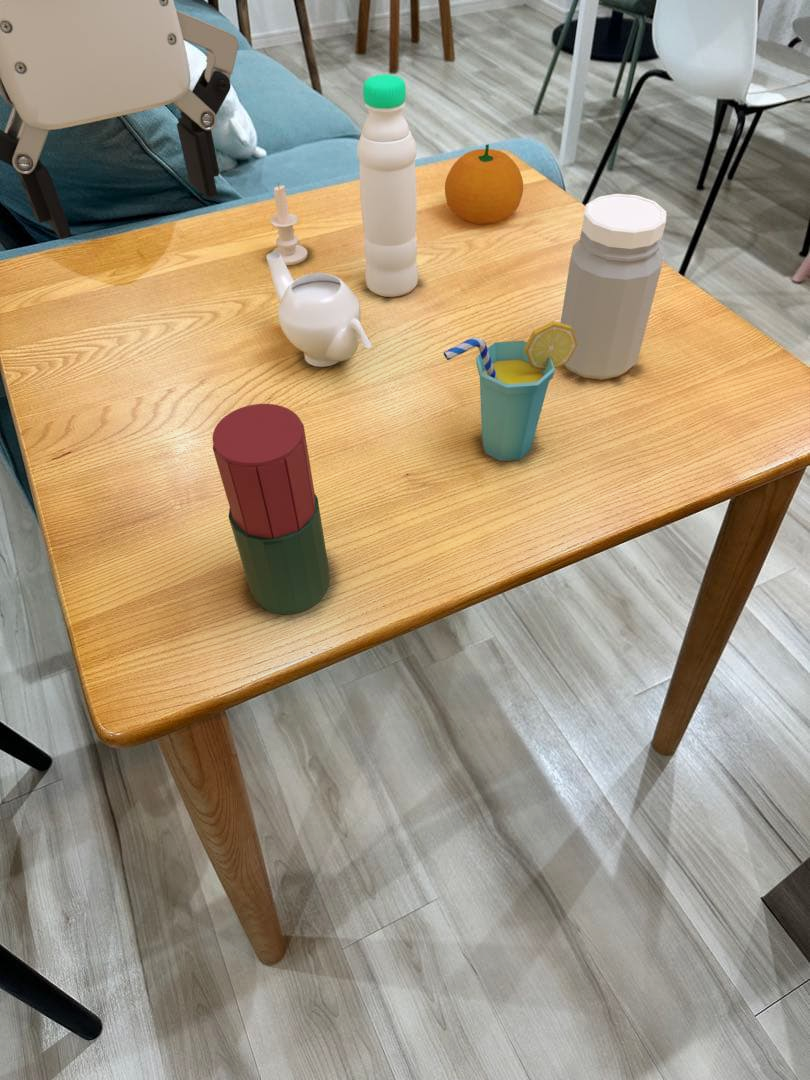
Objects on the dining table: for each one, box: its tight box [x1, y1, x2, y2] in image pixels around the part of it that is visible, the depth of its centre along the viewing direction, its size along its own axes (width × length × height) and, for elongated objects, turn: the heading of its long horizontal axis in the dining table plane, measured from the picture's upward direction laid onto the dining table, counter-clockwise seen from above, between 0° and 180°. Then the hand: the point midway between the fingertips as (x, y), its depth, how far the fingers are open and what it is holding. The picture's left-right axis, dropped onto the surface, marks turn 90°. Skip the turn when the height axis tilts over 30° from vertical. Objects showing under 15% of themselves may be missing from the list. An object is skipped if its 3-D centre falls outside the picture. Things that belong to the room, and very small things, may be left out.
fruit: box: [444, 144, 524, 225], centre depth 110 cm, size 12×12×10 cm
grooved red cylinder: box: [212, 403, 316, 539], centre depth 57 cm, size 7×7×8 cm
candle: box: [269, 183, 309, 266], centre depth 103 cm, size 5×5×10 cm
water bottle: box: [356, 73, 419, 298], centre depth 92 cm, size 7×7×25 cm
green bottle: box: [228, 493, 331, 615], centre depth 62 cm, size 7×7×15 cm
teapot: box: [265, 251, 373, 368], centre depth 87 cm, size 10×20×9 cm, turn 38°
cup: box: [443, 320, 578, 462], centre depth 74 cm, size 14×8×15 cm, turn 118°
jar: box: [560, 193, 667, 381], centre depth 82 cm, size 10×10×18 cm
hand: (134, 209), depth 48 cm, fingers open, 9 cm apart
